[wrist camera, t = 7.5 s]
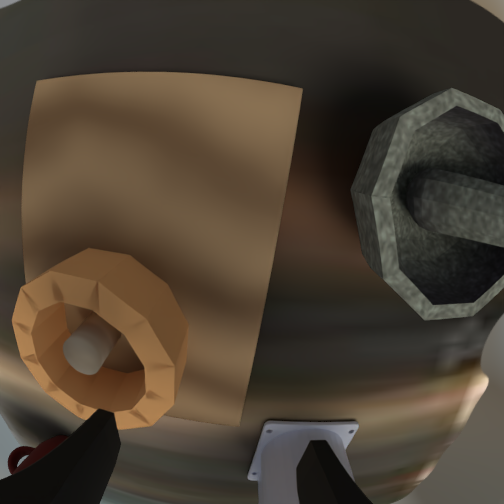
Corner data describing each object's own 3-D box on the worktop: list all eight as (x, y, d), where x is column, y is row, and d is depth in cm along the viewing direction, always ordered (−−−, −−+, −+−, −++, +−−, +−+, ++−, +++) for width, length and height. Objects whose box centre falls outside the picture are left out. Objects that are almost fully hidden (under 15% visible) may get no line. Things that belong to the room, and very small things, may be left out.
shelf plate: (239, 415, 20) (238, 463, 16) (52, 371, 19) (26, 405, 15) (298, 94, 14) (318, 68, 10) (47, 84, 14) (2, 70, 9)
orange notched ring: (184, 400, 18) (174, 443, 15) (59, 367, 18) (35, 399, 14) (193, 264, 16) (177, 296, 12) (42, 239, 15) (2, 258, 11)
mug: (47, 454, 24) (19, 508, 14) (16, 410, 22) (-23, 466, 12) (116, 473, 24) (94, 540, 14) (87, 429, 21) (51, 506, 12)
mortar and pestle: (314, 265, 17) (408, 421, 6) (326, 101, 15) (464, 5, 3) (461, 269, 17) (582, 352, 6) (476, 138, 15) (619, 146, 3)
